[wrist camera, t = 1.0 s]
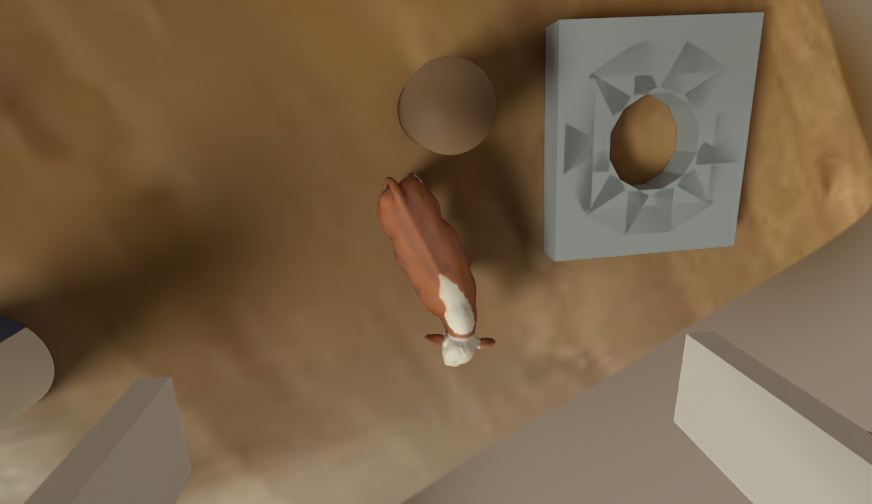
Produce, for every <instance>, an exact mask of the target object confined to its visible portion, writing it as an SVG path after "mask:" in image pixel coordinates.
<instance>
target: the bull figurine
mask: <svg viewBox="0 0 872 504" xmlns="http://www.w3.org/2000/svg"><path fill="white" fill-rule="evenodd" d="M389 186H390V187H389ZM388 187H389V188H388ZM377 210H378V217H379V219H380V221H381V224H382V228H383V230H384V233H385V234H386V235H387V237H388V238H390V239H391V241H392V244H393V247H394V253H395V258H396V260H397V263H398V264H399V266H400V267H401V269H402V270H403V272H404V273H405V275H406V276H407V278H408V280H409V281H410V283H411V285H412V286H413V288H414V290H415V291H416V293H417V295H418V297H419V299H420V300H421V302H422V303H423V304H424V306H425V307H426V308H427V309H428V310H429V312H431V313H432V314H433V315H435V316H438V317H439V318H440V319H441V320H442V322H443V324H444V327H445V332H444V334H443V335H440V334H428V335H426V336H425V340H426V341H428V342H429V343H431V344H433V345H442V349H443V350H442V354H443V360H444V363H445V365H448V366H459V365H460V364H464V363H466V362H468V361H469V360H470V359H471V358H472V357H473V355H474V349H476V348H478V349H487V348H489V347H491V346H493V345H494V344H495V342H496V341H495V340H494V339H492V338H480V339H478V338H476V337H475V334H474V332H475V328H476V322H477V310H476V284H475V280H474V277H473V275H472V273H471V271H470V267H469V263H468V259H467V256H466V254H465V251H464V249H463V247H462V243H461V240H460V238H459V236H458V234H457V232H456V231H455V230H454V228H453V227H452V226H451V225H450V224H449V223H448V222H447V221H445V220H444V219H443V218H442V217H441V212H440V205H439V202H438V200H437V199H436V197H435V196H434V195H433V194H432V193H431V192H430V191H429V189H428V188H427V187H426V185H424V184H423V182H422V180H421V179H420V178H418V177H417V175H416V174H413V173H409V175H408V177H407V178H405V179H403V180H402V181H401V182H400V183H399V184H398V183H397V182H396V181H395V180H394V179H393V178H391V177H387V178H386V179H385V181H384V185H383V190H382V192H381V194H380V196H379V199H378V209H377Z"/></svg>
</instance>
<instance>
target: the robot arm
mask: <svg viewBox="0 0 872 504" xmlns="http://www.w3.org/2000/svg"><path fill="white" fill-rule="evenodd" d="M674 422H675V423H676V424H677V425H678V426H679V427H680V428H681V429H682V430H683V431H684V432H685V433H686V434H687V435H688V436H689V438H690V439H691V440H693V442H694V443H695V444H696V445H697V446H698V447H699V448H700V449H701V450H702V451H703V452H704V453H705V454H706V455H707V456H708V457H709V458H710V459H711V460H712V461H713V462H714V463H715V464H716V465H717V466H718V468H719V469H720V470H721V471H722V472H723V473H724V474H725V475H726V476H727V477H728V478H729V479H730V480H731V481H732V482H733V483H734V484H735V485H736V486H737V487H738V488H739V489H740V490H741V491H742V492H743V493H744V494H745V495H746V497H747V498H748V499H749V500H750V501H751V502H752V503H753V504H872V433H871V432H867V431H865V430H864V429H863V428H861V427H860V426H858V425H856V424H855V423H853V422H852V421H850V420H849V419H847V418H846V417H844V416H843V415H841V414H839V413H838V412H836V411H835V410H833V409H832V408H830V407H829V406H827V405H825V404H824V403H822V402H821V401H819V400H818V399H816V398H815V397H813V396H812V395H810V394H808V393H807V392H805V391H804V390H802V389H801V388H799V387H798V386H796V385H795V384H793V383H792V382H790V381H788V380H787V379H785V378H783V377H782V376H781V375H779V374H777V373H776V372H774V371H773V370H771V369H770V368H768V367H767V366H765V365H764V364H762V363H760V362H759V361H758V360H756V359H754V358H753V357H751V356H750V355H748V354H747V353H745V352H744V351H742V350H741V349H739V348H737V347H736V346H734V345H733V344H731V343H730V342H728V341H726V340H725V339H724V338H722V337H720V336H719V335H717V334H716V333H714V332H704V333H691V334H686V341H685V347H684V354H683V361H682V368H681V375H680V382H679V388H678V396H677V402H676V408H675V415H674ZM191 472H192V471H191V466H190V462H189V457H188V452H187V448H186V443H185V438H184V434H183V429H182V425H181V420H180V415H179V411H178V406H177V401H176V397H175V392H174V388H173V383H172V378H171V376H169V377H157V378H145V379H137V380H136V381H135V382H134V383H133V384H132V385H131V386H130V387H129V388H128V389H127V391H126V392H125V393H124V394H123V395H122V396H121V397H120V398H119V399H118V400H117V402H116V403H115V404H114V405H113V406H112V407H111V408H110V409H109V410H108V411H107V413H106V414H105V415H104V416H103V417H102V418H101V419H100V420H99V421H98V422H97V424H96V425H95V426H94V427H93V428H92V429H91V430H90V431H89V432H88V433H87V435H86V436H85V437H84V438H83V439H82V440H81V441H80V442H79V443H78V445H77V446H76V447H75V448H74V449H73V450H72V451H71V452H70V453H69V454H68V456H67V457H66V458H65V459H64V460H63V461H62V462H61V463H60V464H59V465H58V467H57V468H56V469H55V470H54V471H53V472H52V473H51V474H50V475H49V476H48V478H47V479H46V480H45V481H44V482H43V483H42V484H41V485H40V486H39V487H38V489H37V490H36V491H35V492H34V493H33V494H32V495H31V496H30V497H29V499H28V500H27V501H26V502H25V503H24V504H175V502H176V501H177V499H178V497H179V495H180V493H181V491H182V489H183V487H184V485H185V483H186V481H187V479H188V477H189V476H190V474H191Z"/></svg>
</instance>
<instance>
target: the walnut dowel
mask: <svg viewBox="0 0 872 504" xmlns="http://www.w3.org/2000/svg"><path fill="white" fill-rule="evenodd" d="M496 109H497V102H496V95H495V91H494V88H493V85H492V83H491V81H490V79H489V78H488V76H487V75H486V73H485V72H484V71H483V70H482V69H481V68H480V67H479V66H478V65H476V64H475V63H473V62H471V61H469V60H467V59H464V58H461V57H456V56H445V57H440V58H436V59H434V60H431V61H429V62H427V63H426V64H424V65H423V66H422V67H420V68H419V69H418V70H417V71H416V73H415V74H414V75H413V76H412V78H411V79H410V80H409V82H408V83H407V85H406V86H405V87H404V89H403V90H402V92H401V95H400V97H399V101H398V118H399V122H400V124H401V127H402V128H403V130H404V132H405V133H406V134H407V135H408V136H409V138H411V139H412V140H413V141H415V142H416V143H418V144H420V145H421V146H423V147H425V148H427V149H428V150H430V151H433V152H435V153H439V154H444V155H456V154H461V153H464V152H467V151H469V150H471V149H473V148H474V147H476V146H477V145H478V144H480V143H481V142H482V141H483V140H484V139H485V137H486V136H487V135H488V133H489V132H490V130H491V128H492V126H493V123H494V120H495V116H496Z"/></svg>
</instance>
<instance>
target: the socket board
mask: <svg viewBox="0 0 872 504" xmlns="http://www.w3.org/2000/svg"><path fill="white" fill-rule="evenodd" d="M763 17H764V12H755V13H728V14H701V15H673V16H646V17H619V18H592V19H564V20H558V21H556V22H555V23H553V24H551V25H549V26H547V27H546V57H545V151H544V245H543V252H544V253H545V254H546V255H547V256H549V257H550V258H551V259H552V260H554V261H555V262H556V261H567V260H579V259H590V258H601V257H612V256H623V255H634V254H645V253H656V252H667V251H679V250H690V249H701V248H712V247H723V246H734V241H735V233H736V225H737V217H738V210H739V202H740V194H741V187H742V179H743V171H744V164H745V156H746V148H747V141H748V133H749V125H750V117H751V110H752V102H753V94H754V87H755V79H756V71H757V64H758V56H759V48H760V41H761V33H762V25H763ZM644 95H651V96H652V97H654V98H656V99H657V100H659V101H661V102H662V103H664V104H665V105H667V106H668V107H669V109H670V111H671V113H672V116H673V118H674V120H675V122H676V125H677V138H676V150H675V152H674V154H673V155H672V157H671V159H670V160H669V162H668V164H667V165H666V167H665V169H664V170H663V172H661V173H660V174H658V175H657V176H655V177H654V178H652V179H651V180H649V181H648V182H646V183H645V184H639V185H629V184H627V183H625V182H623V181H622V180H620V179H619V177H618V175H617V173H616V171H615V169H614V167H613V165H612V163H611V161H610V159H609V154H610V134H611V131H612V129H613V128H614V126H615V124H616V122H617V120H618V119H619V117H620V115H621V113H622V112H623V110H624V109H625V108H626V107H628V106H629V105H631V104H632V103H634V102H635V101H637V100H638V99H640V98H641V97H643V96H644Z"/></svg>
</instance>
